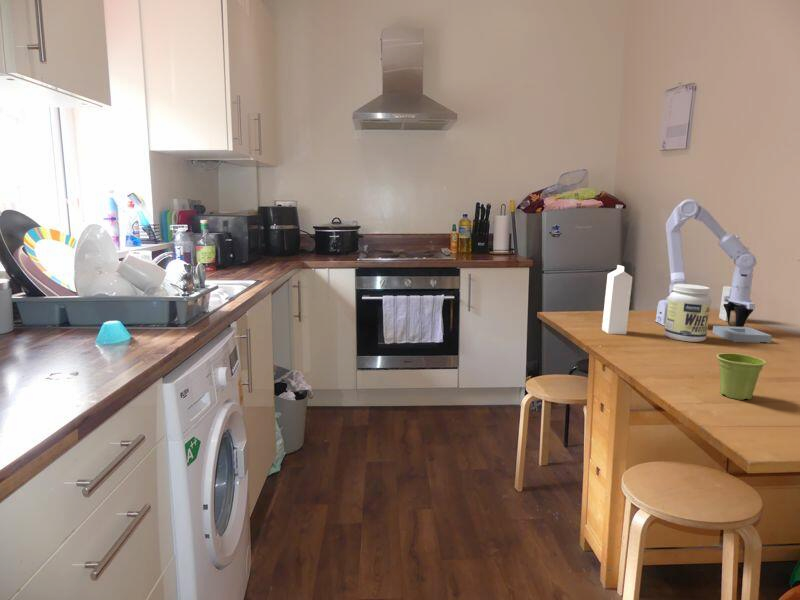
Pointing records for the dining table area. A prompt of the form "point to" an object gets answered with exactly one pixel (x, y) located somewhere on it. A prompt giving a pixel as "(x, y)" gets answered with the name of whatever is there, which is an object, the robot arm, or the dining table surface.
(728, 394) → the plant pot
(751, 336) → the socket block
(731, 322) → the dowel
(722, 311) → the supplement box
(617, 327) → the milk
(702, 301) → the supplement tub
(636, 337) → the dining table surface
